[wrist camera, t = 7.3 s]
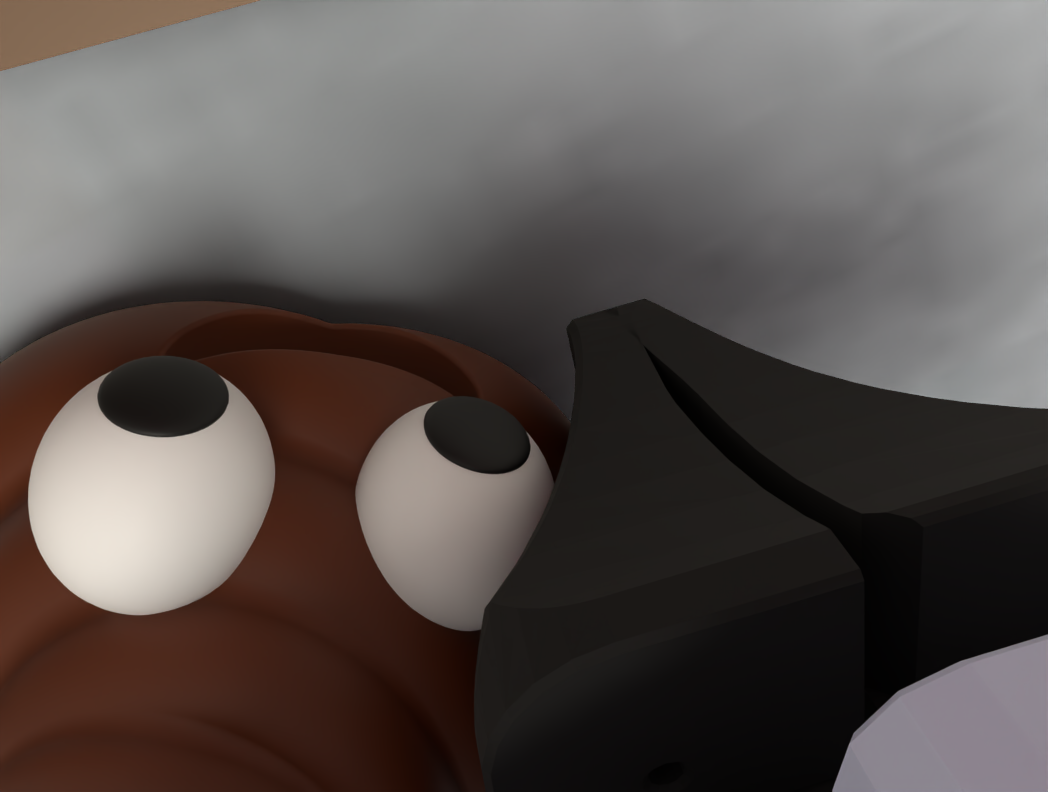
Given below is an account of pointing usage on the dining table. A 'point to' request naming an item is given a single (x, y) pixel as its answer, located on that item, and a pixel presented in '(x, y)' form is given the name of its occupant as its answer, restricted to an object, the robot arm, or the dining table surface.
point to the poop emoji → (255, 550)
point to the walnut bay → (87, 23)
